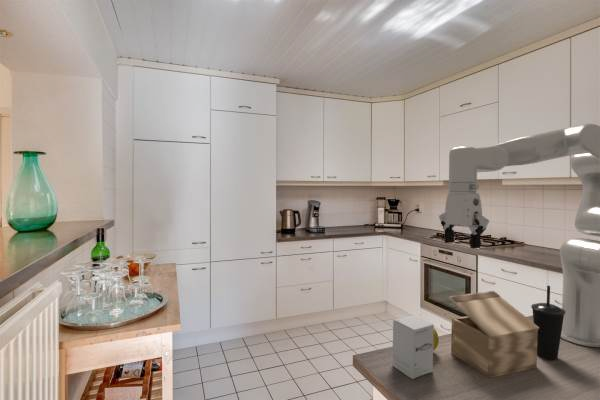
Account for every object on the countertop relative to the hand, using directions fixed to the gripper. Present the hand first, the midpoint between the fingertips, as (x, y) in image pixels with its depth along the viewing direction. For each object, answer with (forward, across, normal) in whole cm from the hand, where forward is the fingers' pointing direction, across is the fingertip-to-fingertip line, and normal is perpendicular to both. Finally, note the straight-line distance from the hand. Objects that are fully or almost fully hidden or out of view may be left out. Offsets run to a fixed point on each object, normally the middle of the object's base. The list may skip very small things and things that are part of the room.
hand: (461, 245), depth 98 cm
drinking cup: (+31, -14, -17) cm, 38 cm away
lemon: (+30, -1, +13) cm, 33 cm away
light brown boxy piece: (+30, -10, 0) cm, 32 cm away
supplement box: (+30, -7, +23) cm, 39 cm away
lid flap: (+17, -10, -1) cm, 20 cm away
